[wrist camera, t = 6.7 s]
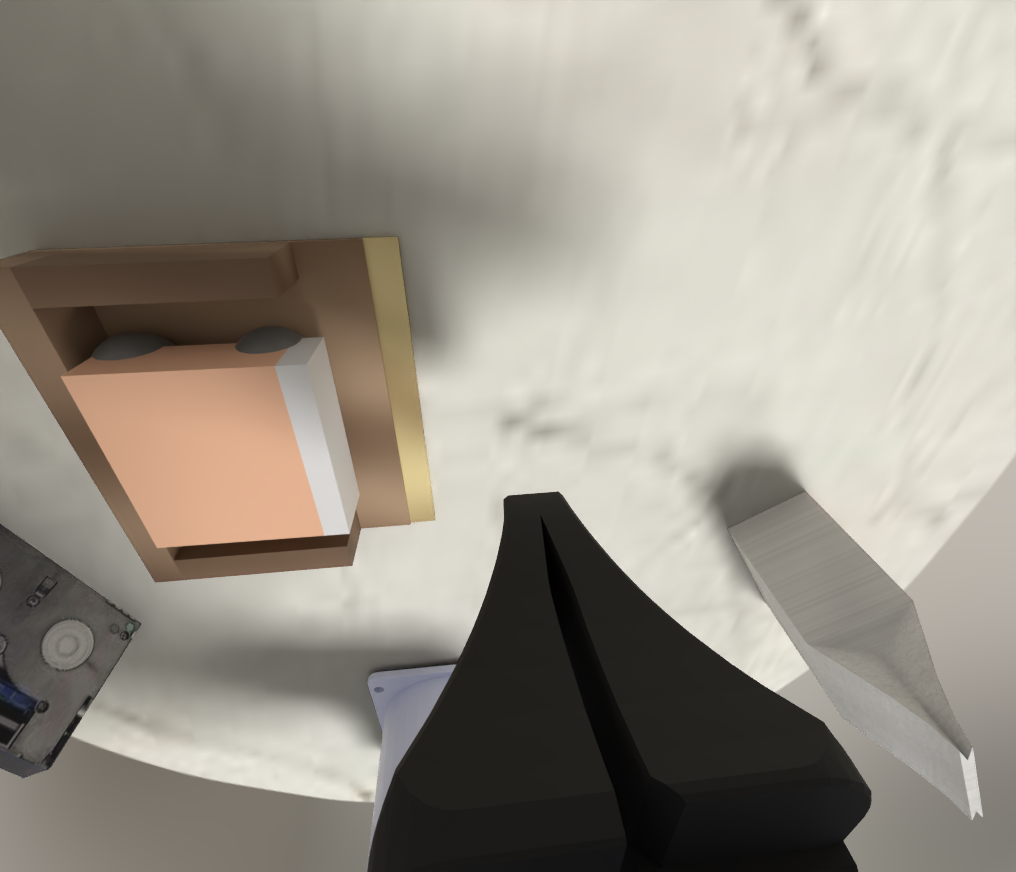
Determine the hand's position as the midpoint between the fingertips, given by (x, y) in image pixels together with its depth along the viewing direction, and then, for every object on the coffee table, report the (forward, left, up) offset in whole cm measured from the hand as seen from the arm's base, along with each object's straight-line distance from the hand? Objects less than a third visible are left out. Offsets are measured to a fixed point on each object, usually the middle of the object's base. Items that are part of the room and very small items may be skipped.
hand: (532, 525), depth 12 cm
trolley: (0, +9, -6) cm, 11 cm away
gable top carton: (-9, -13, -7) cm, 18 cm away
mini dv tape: (-7, +19, -7) cm, 21 cm away
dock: (0, +9, -7) cm, 11 cm away
